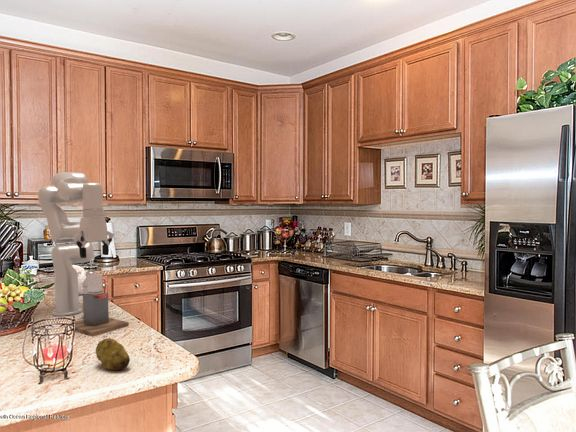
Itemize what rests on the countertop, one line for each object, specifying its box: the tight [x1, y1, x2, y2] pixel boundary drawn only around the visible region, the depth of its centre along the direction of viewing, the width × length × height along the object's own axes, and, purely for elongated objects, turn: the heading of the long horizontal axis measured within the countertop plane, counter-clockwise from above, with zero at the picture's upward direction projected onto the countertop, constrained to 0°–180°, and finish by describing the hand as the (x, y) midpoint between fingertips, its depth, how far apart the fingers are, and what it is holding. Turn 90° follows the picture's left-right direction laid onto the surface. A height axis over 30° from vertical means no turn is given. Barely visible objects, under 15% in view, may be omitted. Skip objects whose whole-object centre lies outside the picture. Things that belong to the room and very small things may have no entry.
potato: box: [95, 337, 131, 371], centre depth 138 cm, size 8×13×8 cm, turn 34°
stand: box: [74, 292, 130, 337], centre depth 180 cm, size 20×16×14 cm
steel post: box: [87, 273, 104, 296], centre depth 180 cm, size 4×4×20 cm
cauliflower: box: [72, 264, 88, 296], centre depth 243 cm, size 20×18×16 cm
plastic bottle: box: [83, 270, 96, 294], centre depth 196 cm, size 6×7×20 cm
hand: (94, 256), depth 179 cm, fingers open, 9 cm apart
